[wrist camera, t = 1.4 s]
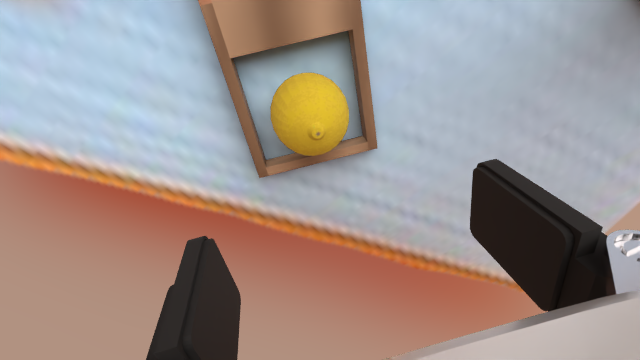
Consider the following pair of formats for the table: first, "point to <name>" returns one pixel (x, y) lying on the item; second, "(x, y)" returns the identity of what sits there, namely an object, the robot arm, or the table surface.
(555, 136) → the table surface
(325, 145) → the lemon
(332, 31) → the wooden frame
